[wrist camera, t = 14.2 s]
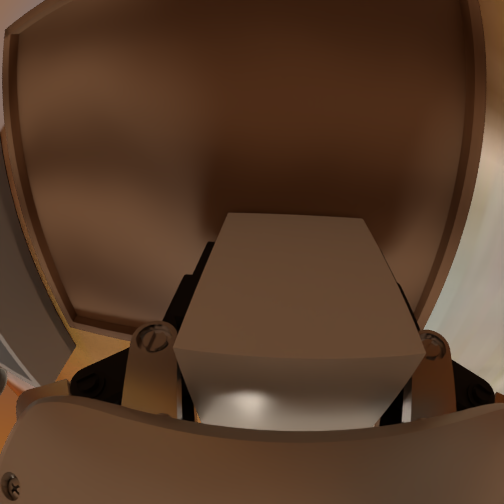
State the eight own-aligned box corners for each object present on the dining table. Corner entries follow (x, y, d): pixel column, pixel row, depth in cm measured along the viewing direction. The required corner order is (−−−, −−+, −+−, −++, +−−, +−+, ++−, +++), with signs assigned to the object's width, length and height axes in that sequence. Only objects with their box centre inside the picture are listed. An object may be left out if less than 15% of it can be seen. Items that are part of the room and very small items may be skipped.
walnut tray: (21, 29, 6) (5, 29, 5) (460, -10, 4) (474, -16, 3) (78, 314, 15) (69, 326, 14) (402, 341, 13) (407, 357, 12)
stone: (228, 212, 10) (172, 347, 5) (362, 218, 9) (426, 352, 4) (234, 312, 12) (208, 437, 7) (341, 316, 12) (358, 441, 7)
